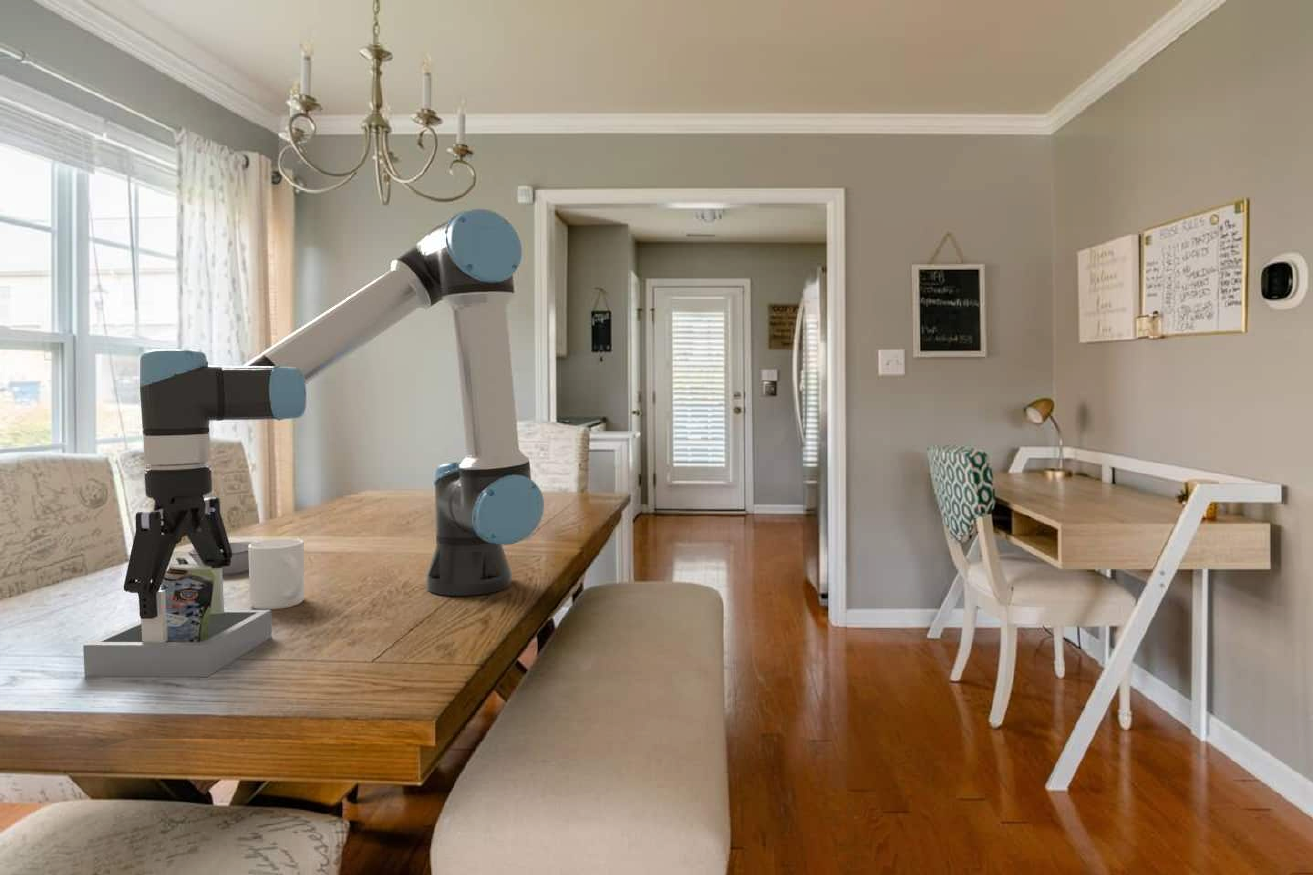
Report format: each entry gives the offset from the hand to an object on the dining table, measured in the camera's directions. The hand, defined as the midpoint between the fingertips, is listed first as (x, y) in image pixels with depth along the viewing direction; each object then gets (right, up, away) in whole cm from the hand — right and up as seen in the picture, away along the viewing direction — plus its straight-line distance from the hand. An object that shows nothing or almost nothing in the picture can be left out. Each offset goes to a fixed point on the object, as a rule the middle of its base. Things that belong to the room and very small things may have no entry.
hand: (185, 626), depth 100 cm
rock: (-14, -3, +23) cm, 27 cm away
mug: (+1, -3, +24) cm, 24 cm away
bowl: (-23, -1, +49) cm, 54 cm away
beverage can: (0, -4, 0) cm, 4 cm away
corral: (0, -4, 0) cm, 4 cm away
